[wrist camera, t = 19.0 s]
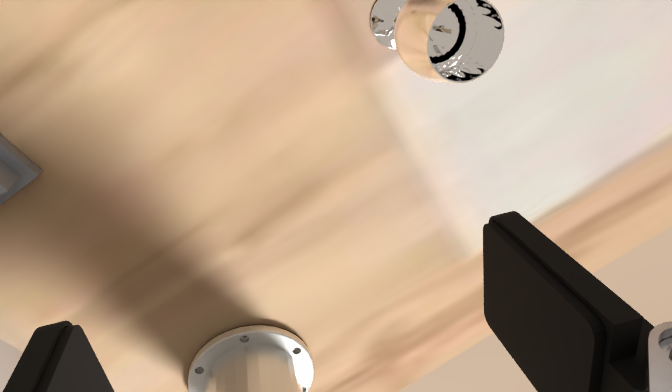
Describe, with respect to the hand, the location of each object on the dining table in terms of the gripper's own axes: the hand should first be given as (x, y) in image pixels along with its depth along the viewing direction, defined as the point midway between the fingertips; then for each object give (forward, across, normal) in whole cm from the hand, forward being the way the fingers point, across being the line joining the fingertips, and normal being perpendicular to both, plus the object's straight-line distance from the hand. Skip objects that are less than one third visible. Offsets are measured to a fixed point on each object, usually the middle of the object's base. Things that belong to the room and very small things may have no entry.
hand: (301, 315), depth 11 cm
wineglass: (+29, -12, -2) cm, 32 cm away
